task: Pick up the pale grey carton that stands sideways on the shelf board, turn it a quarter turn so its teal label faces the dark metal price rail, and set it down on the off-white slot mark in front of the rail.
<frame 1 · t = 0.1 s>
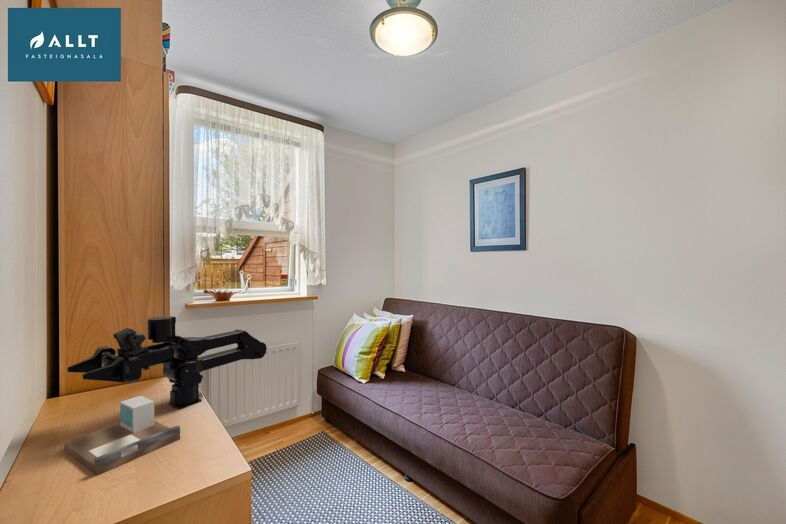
hand: (74, 373, 82), 16 cm above the cabinet, tool horizontal, fingers open, 9 cm apart
carton: (137, 425, 87), point 1 cm above the cabinet, touching shelf board
shelf board: (123, 444, 81), on the cabinet
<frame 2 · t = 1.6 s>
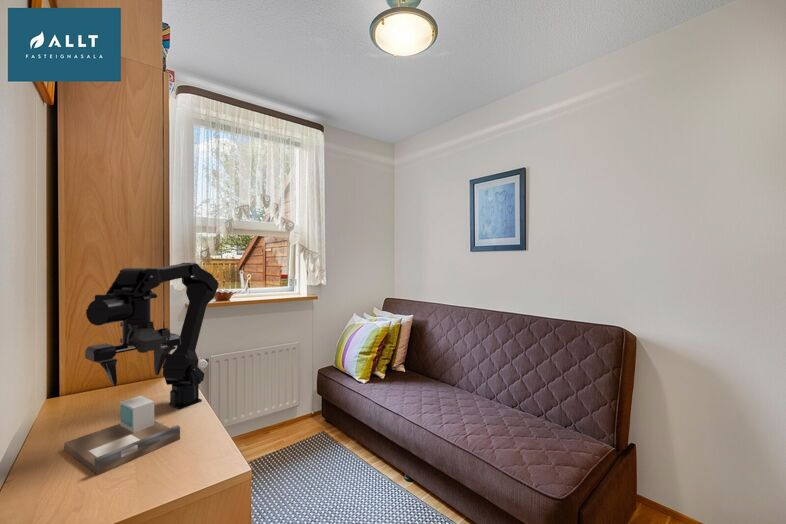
hand: (136, 380, 87), 13 cm above the cabinet, tool pointing down, fingers open, 9 cm apart
nothing on the cabinet moved.
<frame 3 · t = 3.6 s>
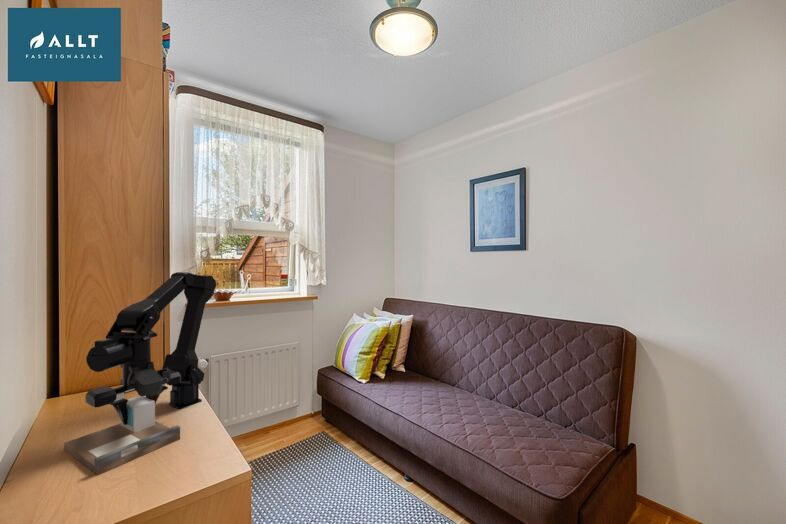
hand: (137, 420, 87), 3 cm above the cabinet, tool pointing down, fingers closed on carton, 5 cm apart
carton: (138, 425, 87), point 2 cm above the cabinet, touching gripper, shelf board
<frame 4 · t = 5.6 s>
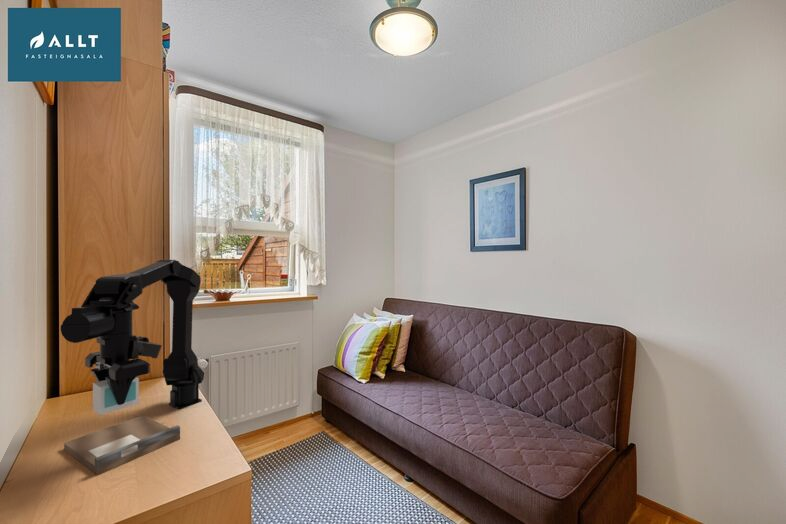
hand: (116, 401, 77), 11 cm above the cabinet, tool pointing down, fingers closed on carton, 5 cm apart
carton: (116, 407, 77), point 10 cm above the cabinet, touching gripper
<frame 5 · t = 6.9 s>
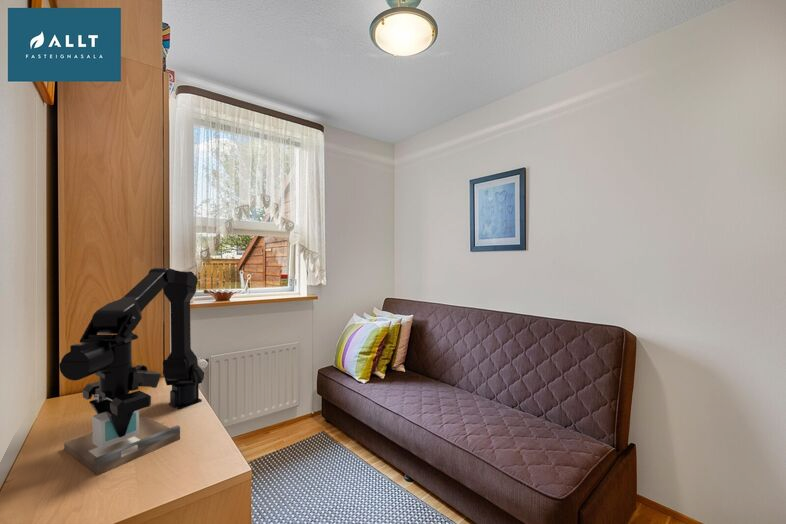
hand: (116, 433, 77), 4 cm above the cabinet, tool pointing down, fingers closed on carton, 5 cm apart
carton: (116, 438, 77), point 3 cm above the cabinet, touching gripper
when the fingers open (4 cm above the cabinet, at t = 7.7 s): carton drops 1 cm, resting on shelf board.
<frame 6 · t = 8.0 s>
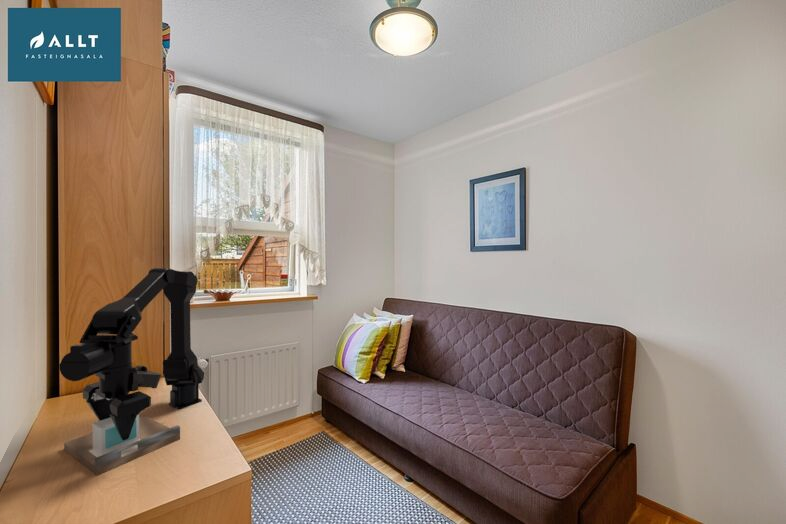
hand: (116, 434, 77), 4 cm above the cabinet, tool pointing down, fingers open, 8 cm apart
carton: (116, 445, 77), point 2 cm above the cabinet, touching shelf board
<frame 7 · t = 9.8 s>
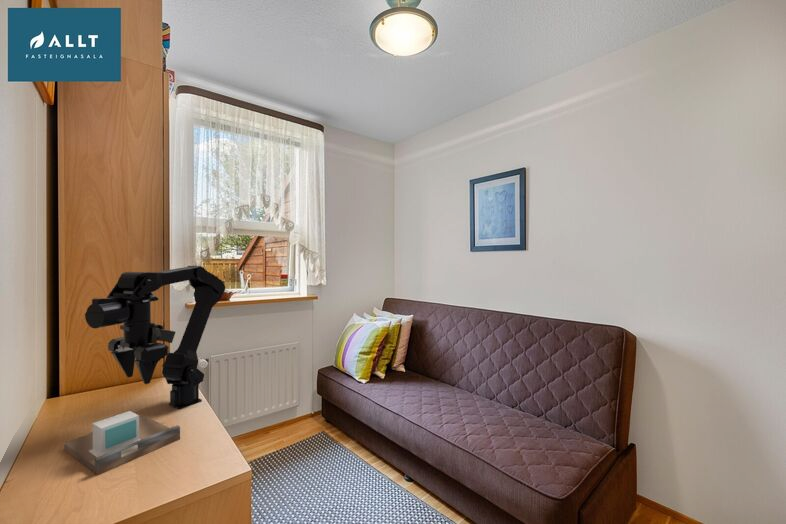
hand: (138, 380, 89), 12 cm above the cabinet, tool pointing down, fingers open, 9 cm apart
nothing on the cabinet moved.
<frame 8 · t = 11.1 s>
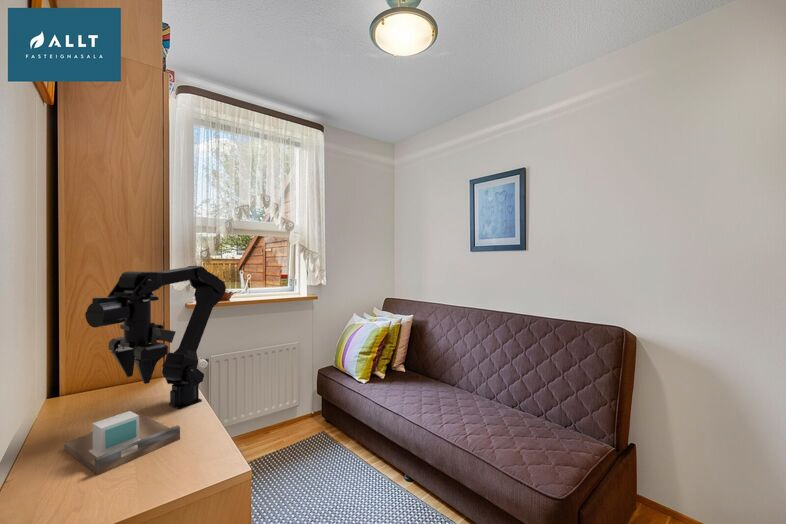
hand: (138, 379, 89), 12 cm above the cabinet, tool pointing down, fingers open, 9 cm apart
nothing on the cabinet moved.
at the end: carton 0.1 cm from the target spot, point 1.6 cm above the cabinet; carton tilted 0°; the gripper is holding nothing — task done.
